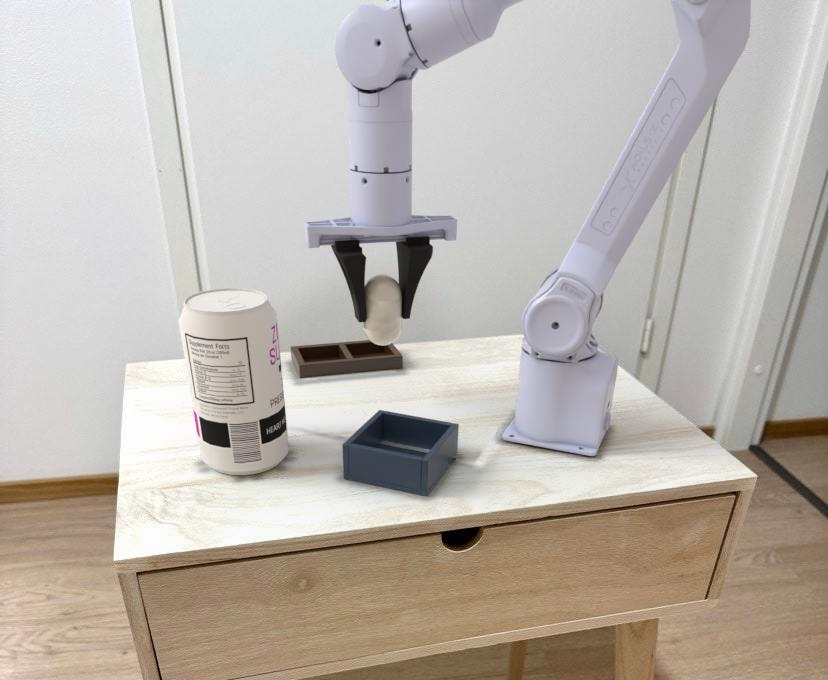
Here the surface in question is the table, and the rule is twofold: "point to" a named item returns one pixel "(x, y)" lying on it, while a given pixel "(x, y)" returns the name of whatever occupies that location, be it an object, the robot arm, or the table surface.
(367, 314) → the cream capsule
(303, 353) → the tray
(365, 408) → the table surface
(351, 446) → the bin
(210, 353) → the supplement can
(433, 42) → the robot arm
